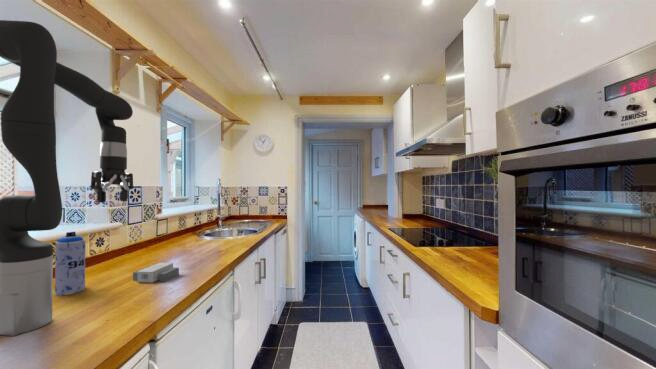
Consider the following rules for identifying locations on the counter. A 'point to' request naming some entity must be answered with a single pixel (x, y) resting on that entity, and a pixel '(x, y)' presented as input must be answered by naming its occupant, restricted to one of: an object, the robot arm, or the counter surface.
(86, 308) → the counter surface
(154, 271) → the skincare box
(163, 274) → the charcoal cradle
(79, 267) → the aerosol can
